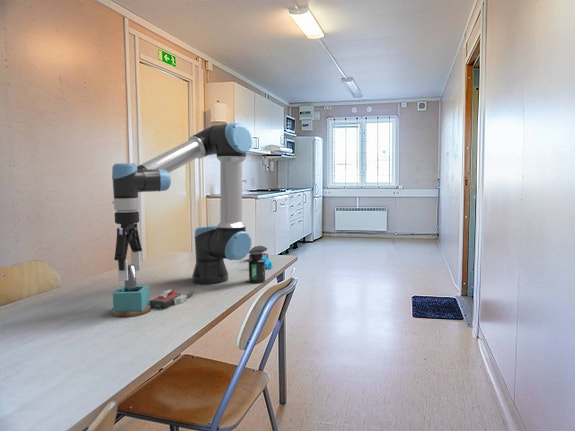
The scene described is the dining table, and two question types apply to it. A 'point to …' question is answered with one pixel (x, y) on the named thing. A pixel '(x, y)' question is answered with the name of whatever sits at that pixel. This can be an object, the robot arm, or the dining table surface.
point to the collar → (131, 299)
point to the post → (131, 279)
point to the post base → (131, 312)
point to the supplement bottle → (256, 268)
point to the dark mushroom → (258, 250)
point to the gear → (267, 262)
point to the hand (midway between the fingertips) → (130, 275)
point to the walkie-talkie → (168, 299)
